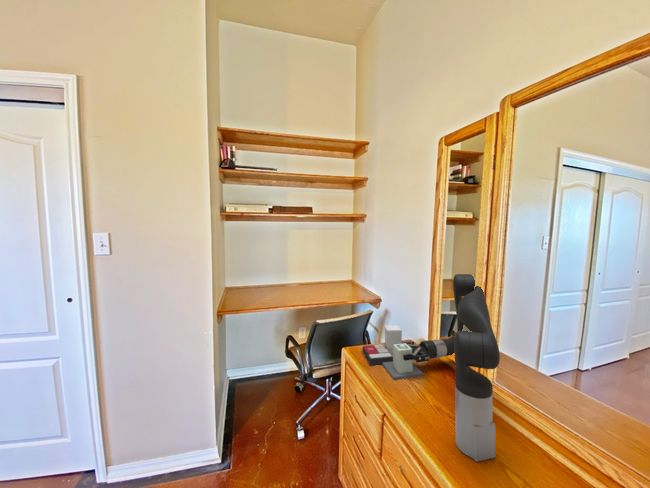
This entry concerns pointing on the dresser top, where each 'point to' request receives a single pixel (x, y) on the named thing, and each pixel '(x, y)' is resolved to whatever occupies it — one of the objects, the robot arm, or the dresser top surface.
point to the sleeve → (398, 359)
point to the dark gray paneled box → (377, 354)
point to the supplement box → (392, 337)
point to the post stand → (396, 375)
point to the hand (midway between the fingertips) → (399, 353)
